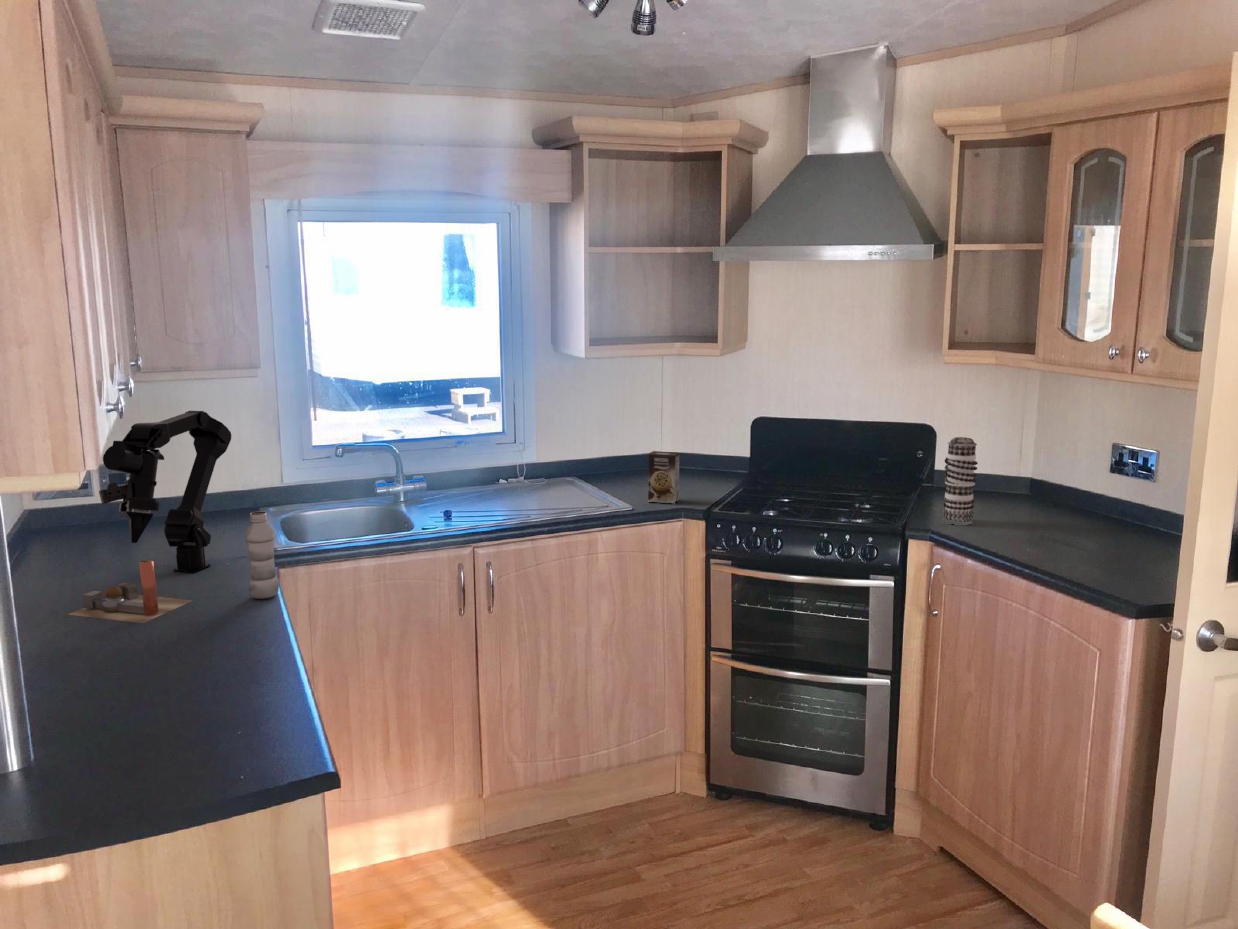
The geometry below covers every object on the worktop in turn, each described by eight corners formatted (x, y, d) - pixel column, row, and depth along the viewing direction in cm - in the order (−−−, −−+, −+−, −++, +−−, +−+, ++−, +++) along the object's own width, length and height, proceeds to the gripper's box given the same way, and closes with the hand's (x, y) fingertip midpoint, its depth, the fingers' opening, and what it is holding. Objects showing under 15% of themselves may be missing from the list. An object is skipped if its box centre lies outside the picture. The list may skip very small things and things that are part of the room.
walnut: (114, 598, 224) (112, 583, 223) (127, 599, 223) (125, 584, 222) (101, 603, 220) (100, 588, 220) (114, 604, 219) (113, 589, 219)
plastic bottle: (248, 603, 223) (241, 517, 220) (251, 594, 230) (244, 510, 226) (278, 600, 225) (272, 515, 221) (280, 591, 232) (274, 508, 228)
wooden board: (121, 597, 228) (119, 580, 227) (193, 605, 222) (191, 587, 221) (68, 619, 214) (66, 601, 213) (143, 628, 208) (141, 609, 207)
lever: (81, 609, 216) (75, 558, 213) (97, 602, 220) (91, 553, 218) (149, 616, 210) (144, 565, 208) (164, 610, 215) (159, 559, 212)
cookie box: (647, 503, 317) (647, 453, 314) (652, 498, 323) (652, 450, 320) (675, 504, 314) (675, 455, 311) (679, 500, 320) (679, 451, 317)
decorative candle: (938, 524, 288) (943, 439, 283) (944, 517, 296) (948, 435, 291) (971, 527, 284) (976, 442, 279) (976, 520, 292) (981, 437, 287)
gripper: (99, 475, 234) (90, 540, 232) (108, 469, 218) (99, 539, 216) (150, 480, 240) (142, 544, 238) (163, 475, 224) (154, 543, 222)
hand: (133, 542), depth 228 cm, fingers closed
